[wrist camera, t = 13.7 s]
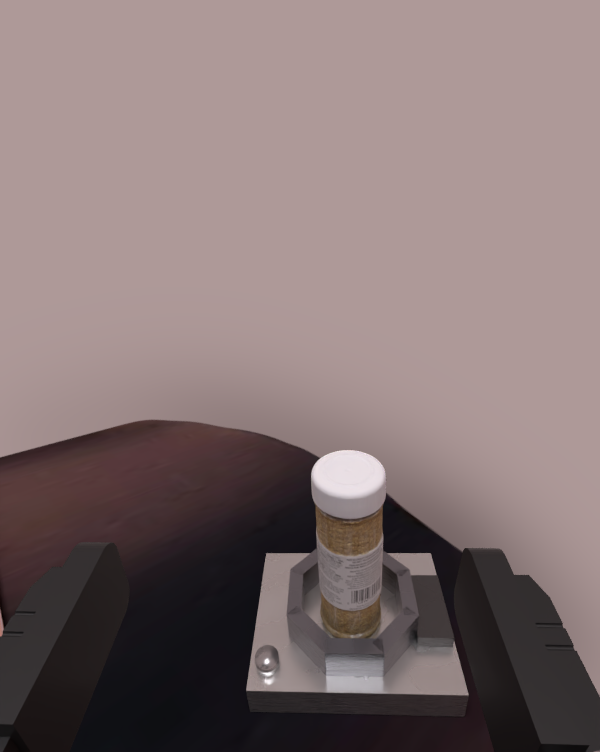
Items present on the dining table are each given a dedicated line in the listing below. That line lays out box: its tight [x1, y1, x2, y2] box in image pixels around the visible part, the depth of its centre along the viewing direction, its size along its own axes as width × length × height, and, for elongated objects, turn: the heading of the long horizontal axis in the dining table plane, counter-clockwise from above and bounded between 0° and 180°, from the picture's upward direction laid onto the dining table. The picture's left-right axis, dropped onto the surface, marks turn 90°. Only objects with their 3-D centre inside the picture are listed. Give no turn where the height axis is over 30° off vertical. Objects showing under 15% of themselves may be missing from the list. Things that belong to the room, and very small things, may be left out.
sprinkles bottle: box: [311, 450, 386, 638], centre depth 30 cm, size 5×5×13 cm
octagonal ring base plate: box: [246, 549, 469, 717], centre depth 33 cm, size 14×11×5 cm
